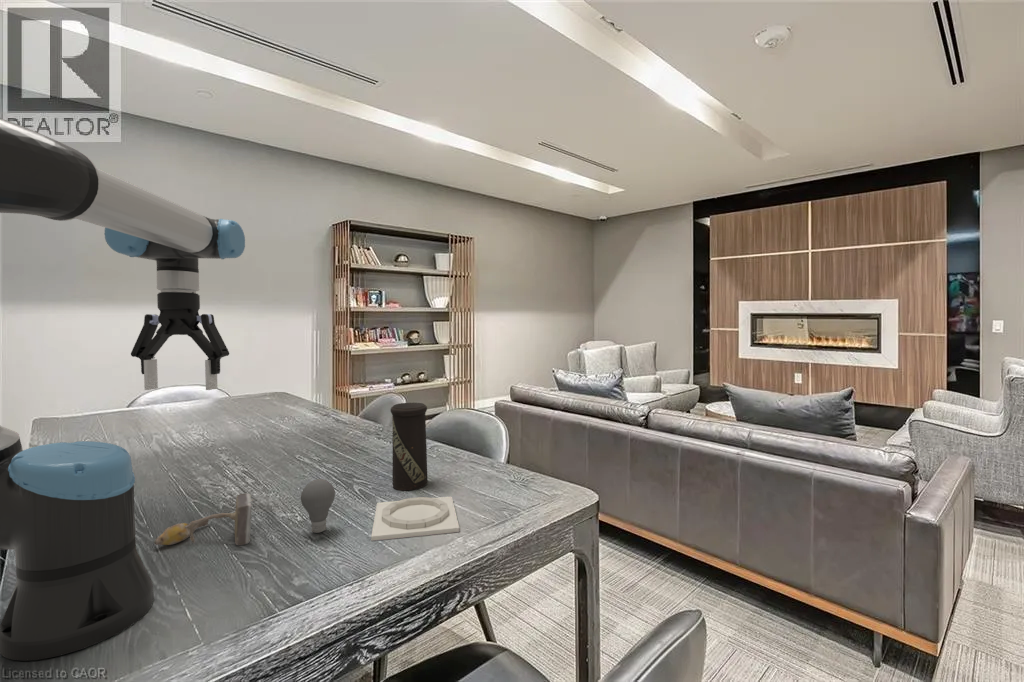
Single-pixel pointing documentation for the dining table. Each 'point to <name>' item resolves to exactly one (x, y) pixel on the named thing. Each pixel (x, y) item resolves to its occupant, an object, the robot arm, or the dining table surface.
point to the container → (409, 446)
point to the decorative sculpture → (185, 530)
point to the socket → (414, 518)
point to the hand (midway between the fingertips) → (181, 389)
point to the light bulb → (318, 502)
